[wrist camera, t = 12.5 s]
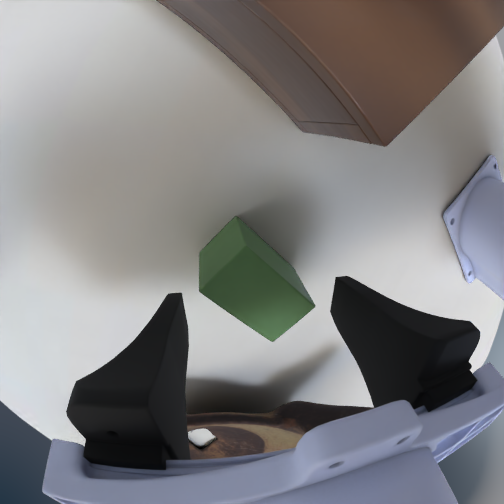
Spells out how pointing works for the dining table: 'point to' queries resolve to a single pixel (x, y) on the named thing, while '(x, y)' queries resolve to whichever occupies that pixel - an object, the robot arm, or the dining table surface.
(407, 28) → the cabinet
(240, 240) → the block
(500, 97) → the dining table surface
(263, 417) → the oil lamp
